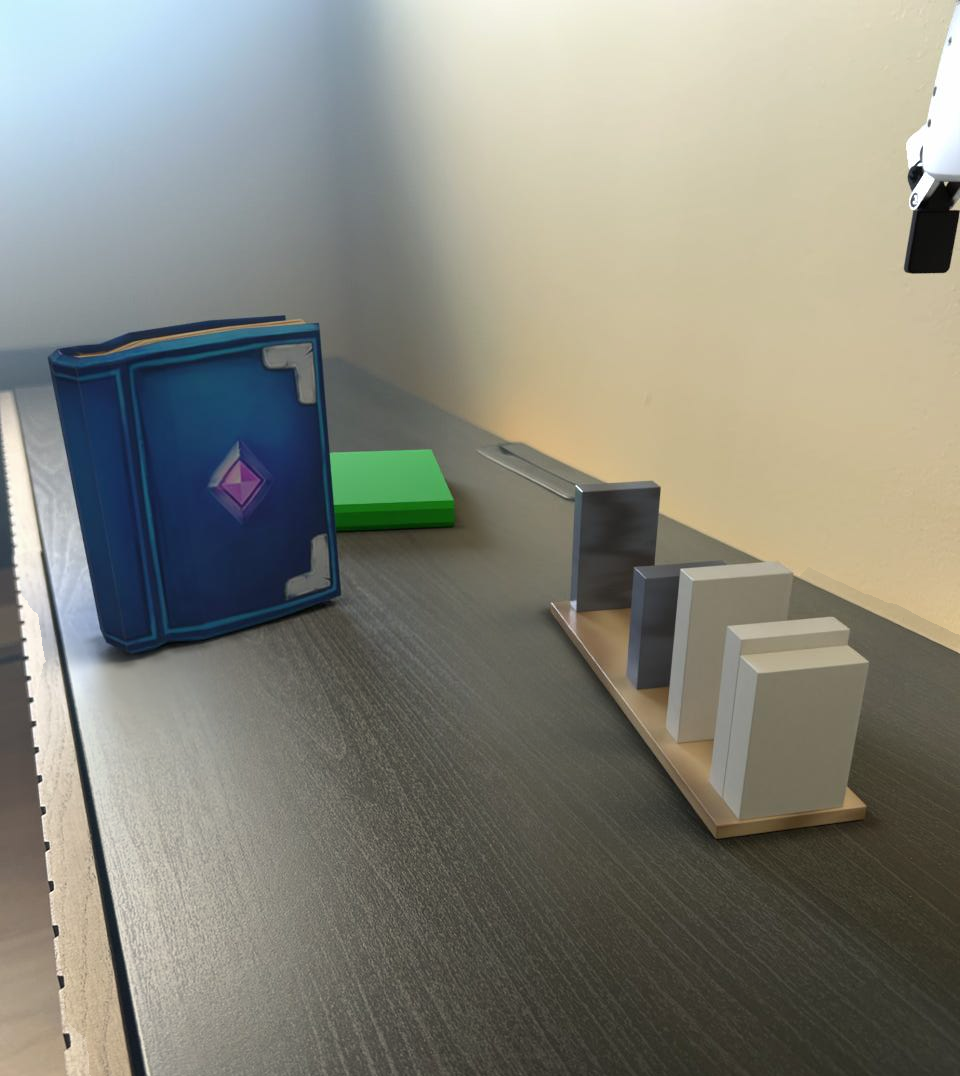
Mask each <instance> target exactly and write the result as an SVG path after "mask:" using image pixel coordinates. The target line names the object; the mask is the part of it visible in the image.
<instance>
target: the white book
mask: <svg viewBox="0 0 960 1076" xmlns="http://www.w3.org/2000/svg"><path fill="white" fill-rule="evenodd" d="M793 581H794V571H792V570H791V569H789V567H786V565H784V564H783V563H781V562H780V561H778V560H776V561H762V562H750V563H736V564H735V563H734V564H727V565H722V566H709V567H697V568H684V569H681V570H680V580H679V591H678V602H677V612H676V623H675V634H674V645H673V656H672V667H671V677H670V688H669V699H668V710H667V721H666V729H667V730H668V732H669V733H670V734H671V736H672V737H673V738H674V739H675V741H676V742H677V743H686V742H695V741H704V740H712V739H714V738H715V729H716V720H717V711H718V703H719V694H720V685H721V677H722V668H723V659H724V651H725V642H726V633H727V626H734V625H745V624H756V623H767V622H778V621H788V616H789V609H790V600H791V593H792V587H793Z"/></svg>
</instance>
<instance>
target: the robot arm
mask: <svg viewBox="0 0 960 1076" xmlns="http://www.w3.org/2000/svg"><path fill="white" fill-rule="evenodd" d="M955 2H956V4H955V8H954V11H953V15H952V18H951V21H950V24H949V27H948V31H947V34H946V38H945V41H944V45H943V49H942V52H941V56H940V59H939V63H938V67H937V73H936V77H935V81H934V86H933V90H932V93H931V99H930V104H929V109H928V113H927V119H926V123H925V124H924V125H922V126H921V127H920V128H919V129H918V130H917V131H916V132H914V134H912V135H911V136H910V137H909V138H908V140H907V142H906V151H907V161H908V169H909V170H908V173H907V183H908V185H909V188H910V191H911V195H910V197H909V201H908V203H909V204H908V205H909V207H910V209H911V210H912V215H911V222H910V227H909V234H908V239H907V245H906V252H905V256H904V257H905V258H904V263H903V272H905V273H906V274H913V275H916V274H919V275H920V274H946V273H948V271H949V270H950V267H951V264H952V257H953V254H954V247H955V242H956V235H957V231H958V225H959V219H960V209H953V208H954V207H955V205H956V204H957V202H958V201H959V200H960V0H955ZM945 183H946V184H945Z"/></svg>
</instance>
